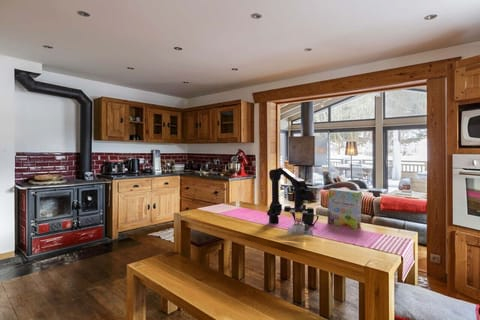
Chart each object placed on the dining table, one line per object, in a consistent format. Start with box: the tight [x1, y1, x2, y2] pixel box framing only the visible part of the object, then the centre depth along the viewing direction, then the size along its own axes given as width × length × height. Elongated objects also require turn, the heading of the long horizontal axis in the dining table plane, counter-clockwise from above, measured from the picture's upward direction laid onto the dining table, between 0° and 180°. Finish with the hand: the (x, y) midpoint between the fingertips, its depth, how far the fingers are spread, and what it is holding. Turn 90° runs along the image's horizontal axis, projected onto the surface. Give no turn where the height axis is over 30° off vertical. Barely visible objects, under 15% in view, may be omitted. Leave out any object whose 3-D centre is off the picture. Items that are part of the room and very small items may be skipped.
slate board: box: [286, 227, 314, 237], centre depth 175 cm, size 16×13×1 cm
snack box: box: [327, 187, 363, 230], centre depth 195 cm, size 22×9×26 cm, turn 50°
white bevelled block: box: [291, 221, 309, 233], centre depth 175 cm, size 10×8×5 cm
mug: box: [301, 212, 320, 227], centre depth 191 cm, size 8×12×10 cm
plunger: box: [295, 217, 302, 224], centre depth 176 cm, size 5×5×8 cm
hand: (298, 222), depth 175 cm, fingers open, 4 cm apart
